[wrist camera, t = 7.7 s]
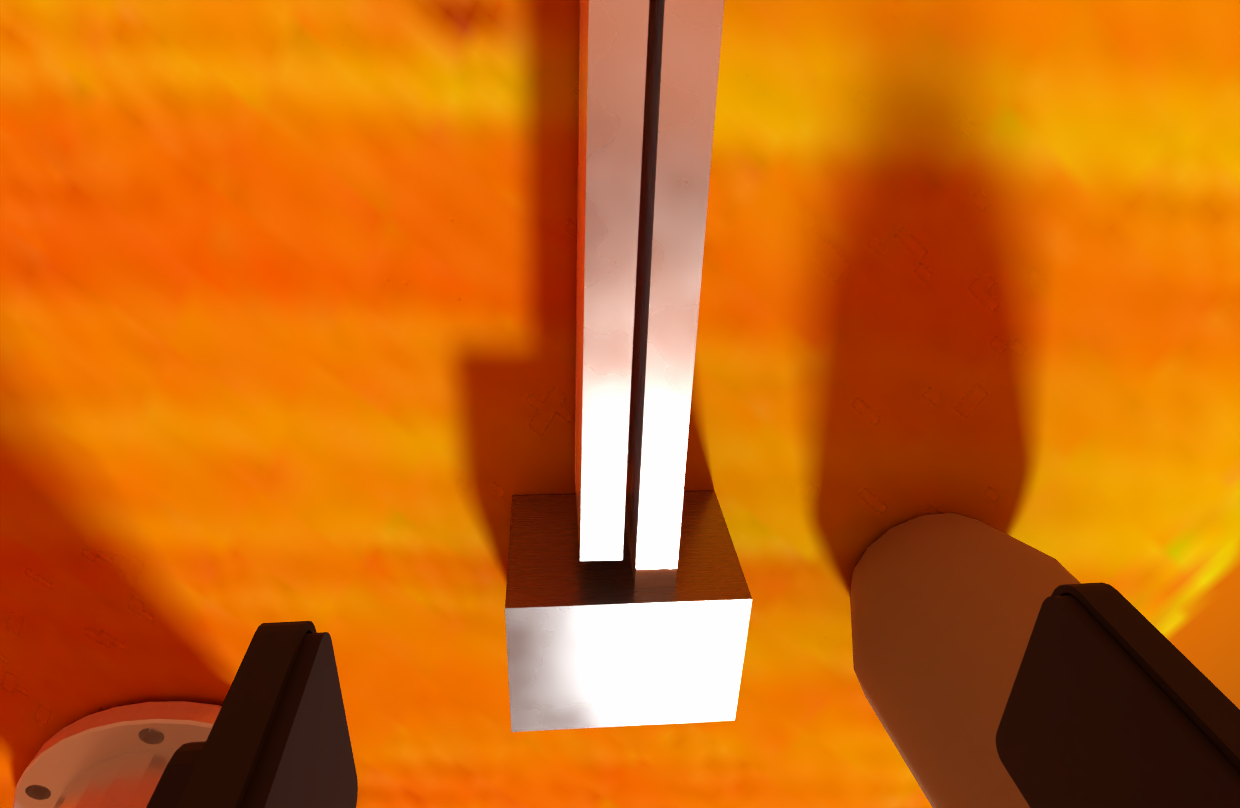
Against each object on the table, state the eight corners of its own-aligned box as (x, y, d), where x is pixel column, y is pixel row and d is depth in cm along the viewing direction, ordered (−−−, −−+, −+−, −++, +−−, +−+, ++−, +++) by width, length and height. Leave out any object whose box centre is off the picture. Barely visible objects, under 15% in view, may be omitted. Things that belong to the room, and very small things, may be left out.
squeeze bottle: (777, 606, 30) (1048, 1309, 14) (916, 448, 27) (1463, 1108, 11) (928, 673, 32) (1305, 1332, 16) (1069, 536, 29) (1697, 1175, 13)
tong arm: (610, 472, 26) (622, 561, 22) (568, 473, 26) (573, 562, 21) (636, -254, 17) (665, -334, 13) (572, -259, 17) (582, -342, 13)
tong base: (702, 599, 29) (734, 720, 24) (517, 607, 28) (511, 732, 24) (788, -213, 18) (881, -294, 13) (481, -232, 17) (456, -324, 12)
